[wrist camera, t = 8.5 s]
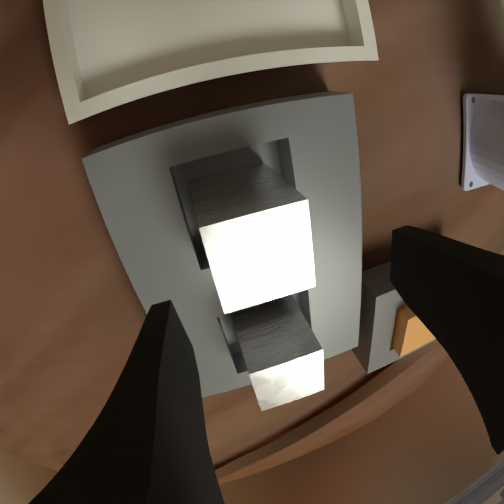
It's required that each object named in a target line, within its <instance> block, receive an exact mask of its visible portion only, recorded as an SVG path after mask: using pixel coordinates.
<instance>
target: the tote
mask: <svg viewBox="0 0 504 504" xmlns="http://www.w3.org/2000/svg"><path fill="white" fill-rule="evenodd" d="M43 6H44V13H45V20H46V26H47V32H48V38H49V44H50V49H51V54H52V59H53V64H54V68H55V73H56V77H57V81H58V86H59V90H60V94H61V98H62V101H63V105H64V109H65V113H66V116H67V120H68V123H69V125H70V124H72V123H75V122H77V121H80V120H82V119H85V118H87V117H90V116H92V115H95V114H98V113H100V112H103V111H106V110H108V109H111V108H114V107H117V106H120V105H122V104H125V103H128V102H131V101H134V100H137V99H141V98H144V97H147V96H150V95H153V94H157V93H160V92H164V91H167V90H171V89H175V88H178V87H182V86H186V85H190V84H194V83H198V82H202V81H207V80H211V79H216V78H221V77H225V76H230V75H236V74H241V73H247V72H252V71H259V70H265V69H272V68H279V67H287V66H295V65H304V64H315V63H328V62H344V61H369V60H379V59H378V52H377V46H376V40H375V34H374V28H373V23H372V18H371V13H370V8H369V3H368V0H43Z"/></svg>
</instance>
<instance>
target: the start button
mask: <svg viewBox="0 0 504 504" xmlns="http://www.w3.org/2000/svg"><path fill="white" fill-rule="evenodd" d="M434 339H436V338H435V337H434V336H433V334H432V333H431V332H430V331H429V330H428V329H427V328H426V326H425V325H424V324H423V323H422V322H421V321H420V320H419V318H418V317H417V316H416V315H415V314H414V313H413V311H412V310H411V309H410V308H409V307H408V306H407V305H404V306H401V307H399V308H397V311H396V317H395V323H394V329H393V335H392V340H391V346H392V347H393V348H394V350H395V351H396V352H397V354H398V355H399V356H400V357H401V356H403V355H405V354H407V353H409V352H411V351H413V350H415V349H417V348H419V347H421V346H423V345H425V344H426V343H428V342H430V341H432V340H434Z"/></svg>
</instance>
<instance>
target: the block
mask: <svg viewBox="0 0 504 504" xmlns="http://www.w3.org/2000/svg"><path fill="white" fill-rule="evenodd" d="M231 318H232V321H233V324H234V328H235V331H236V334H237V338H238V341H239V344H240V347H241V351H242V354H243V357H244V360H245V363H246V367H247V370H248V373H249V376H250V379H251V382H252V385H253V388H254V391H255V393H256V396H257V399H258V402H259V405H260V408H261V411H263V410H267V409H270V408H273V407H276V406H279V405H282V404H285V403H288V402H291V401H294V400H297V399H300V398H303V397H305V396H308V395H311V394H314V393H316V392H319V391H322V390H324V363H323V349H322V347H321V345H320V343H319V342H318V340H317V338H316V336H315V334H314V333H313V331H312V329H311V327H310V326H309V324H308V322H307V320H306V319H305V317H304V315H303V313H302V312H301V310H300V308H299V306H298V305H297V303H296V301H295V299H294V298H293V296H292V295H290V296H287V297H283V298H280V299H277V300H274V301H271V302H268V303H264V304H261V305H258V306H255V307H251V308H248V309H245V310H241V311H238V312H235V313H231Z"/></svg>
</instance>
